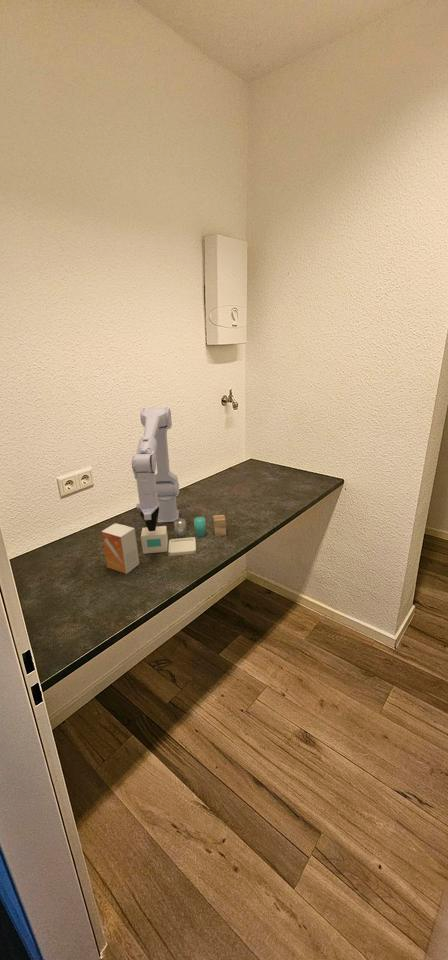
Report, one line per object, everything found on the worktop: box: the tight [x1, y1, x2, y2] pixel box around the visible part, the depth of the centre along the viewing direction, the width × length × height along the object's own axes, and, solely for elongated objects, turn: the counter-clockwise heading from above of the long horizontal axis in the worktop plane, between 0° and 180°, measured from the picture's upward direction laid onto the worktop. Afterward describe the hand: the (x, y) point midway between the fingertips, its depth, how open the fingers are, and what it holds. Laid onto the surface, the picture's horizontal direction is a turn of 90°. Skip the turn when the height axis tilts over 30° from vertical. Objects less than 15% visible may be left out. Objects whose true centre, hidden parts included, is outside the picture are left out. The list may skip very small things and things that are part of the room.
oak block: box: [212, 514, 227, 537], centre depth 141 cm, size 4×4×6 cm
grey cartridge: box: [173, 517, 187, 539], centre depth 140 cm, size 4×4×6 cm
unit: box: [140, 525, 169, 554], centre depth 133 cm, size 7×8×6 cm
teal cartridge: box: [193, 516, 207, 538], centre depth 140 cm, size 4×4×6 cm
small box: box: [100, 522, 140, 575], centre depth 122 cm, size 8×6×13 cm
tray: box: [167, 536, 197, 557], centre depth 133 cm, size 9×9×1 cm
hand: (152, 530), depth 127 cm, fingers closed
